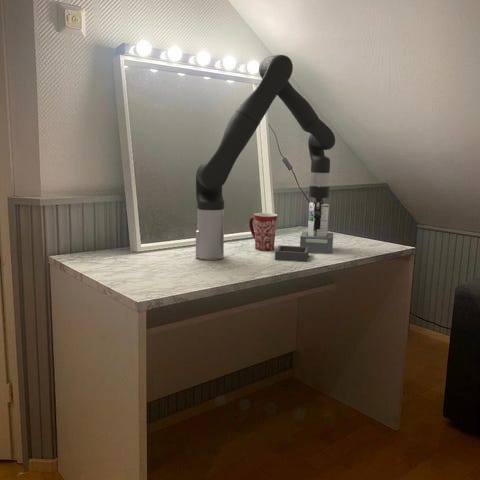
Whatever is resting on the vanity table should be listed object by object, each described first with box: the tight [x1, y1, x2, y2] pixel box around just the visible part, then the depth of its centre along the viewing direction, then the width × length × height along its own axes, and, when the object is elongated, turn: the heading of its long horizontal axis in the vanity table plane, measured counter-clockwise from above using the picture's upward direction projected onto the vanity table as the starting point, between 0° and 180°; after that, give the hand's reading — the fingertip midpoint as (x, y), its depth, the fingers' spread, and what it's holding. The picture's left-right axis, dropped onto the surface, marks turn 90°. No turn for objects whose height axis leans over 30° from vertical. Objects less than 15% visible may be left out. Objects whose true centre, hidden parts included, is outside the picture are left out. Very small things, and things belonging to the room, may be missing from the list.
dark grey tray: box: [274, 245, 309, 263], centre depth 176 cm, size 11×11×3 cm
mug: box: [248, 212, 279, 252], centre depth 190 cm, size 13×9×14 cm
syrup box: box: [307, 201, 330, 237], centre depth 188 cm, size 6×6×14 cm
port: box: [299, 230, 334, 255], centre depth 189 cm, size 12×12×6 cm
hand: (317, 227), depth 188 cm, fingers closed on syrup box, 8 cm apart
